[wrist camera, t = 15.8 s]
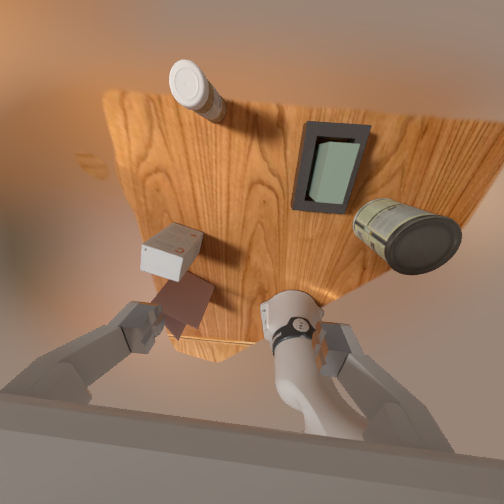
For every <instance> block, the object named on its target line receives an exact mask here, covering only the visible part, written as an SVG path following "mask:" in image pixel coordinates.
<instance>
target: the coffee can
mask: <svg viewBox="0 0 504 504" xmlns="http://www.w3.org/2000/svg"><path fill="white" fill-rule="evenodd" d="M353 231H354V233H355V235H356V236H357V237H358V238H359V239H361V240H362V241H363V242H364V243H365V244H366V245H368V246H369V247H370V248H371V249H372V250H373V251H374V252H376V253H377V254H378V255H379V256H380V257H381V258H382V259H384V260H385V261H386V262H387V263H388V264H389V266H390V267H391V268H392V269H393V270H395V271H397V272H399V273H401V274H405V275H419V274H424V273H427V272H430V271H433V270H435V269H437V268H439V267H440V266H442V265H443V264H445V263H446V262H447V261H448V260H449V259H451V258H452V257H453V255H454V254H455V253H456V251H457V250H458V248H459V246H460V243H461V239H462V232H461V229H460V227H459V225H458V224H457V223H456V222H455V221H454V220H452V219H450V218H448V217H445V216H440V215H436V214H433V213H430V212H427V211H424V210H421V209H418V208H415V207H412V206H409V205H406V204H403V203H400V202H397V201H394V200H392V199H388V198H379V199H375V200H372V201H370V202H368V203H367V204H365V205H364V206H363V207H362V208H361V209H360V210H359V211H358V212H357V214H356V215H355V217H354V220H353Z"/></svg>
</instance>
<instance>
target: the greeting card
mask: <svg viewBox="0 0 504 504" xmlns="http://www.w3.org/2000/svg"><path fill="white" fill-rule="evenodd" d="M214 288H215V286H214V285H212V284H210V283H208V282H206V281H204V280H203V279H201V278H199V277H197V276H195V275H193V274H191V273H190V272H188V271H186V272H185V274H184V275H183V277H182V278H181V280H180V281H179V282H176V281H173V280H170V279H169V281H168V282H167V283H166V284H165V286H164V287H163V288H162V289H161V291H160V292H159V293H158V294H157V295H156V297H155V298H154V299H153V300H152V302H151V303H154V304H160V305H162V308H163V310H162V312H161V313H162V314H163V315H164V317H165V324H164V325H165V326H166V327H167V328H168V329H169V331H170V332H171V333H172V334H173V335H174V336H175V338H176V339H177V340H179V338H180V336H181V334H182V332H183V330H184V328H185V326H186V324H188V325H190V326H192V327H194V328H196V329H198V327H199V325H200V322H201V320H202V317H203V315H204V312H205V310H206V308H207V305H208V303H209V300H210V298H211V295H212V293H213V291H214Z"/></svg>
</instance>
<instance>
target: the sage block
mask: <svg viewBox="0 0 504 504" xmlns="http://www.w3.org/2000/svg"><path fill="white" fill-rule="evenodd" d="M359 146H360V144H355V143H341V142H326V143H322V144H318V145H316V148H315V153H314V158H313V163H312V168H311V173H310V178H309V183H308V188H307V194H308V195H309V196H310V197H311V198H312V199H313V200H314V201H316V202H322V203H334V204H343V200H344V197H345V194H346V190H347V187H348V183H349V180H350V177H351V173H352V170H353V167H354V163H355V160H356V156H357V153H358V150H359Z"/></svg>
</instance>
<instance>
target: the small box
mask: <svg viewBox="0 0 504 504" xmlns="http://www.w3.org/2000/svg"><path fill="white" fill-rule="evenodd" d="M203 235H204V233H203V232H200V231H197V230H194V229H192V228H189V227H186V226H183V225H180V224H177V223H174V222H173V223H172V224H170V225H169V226H167V227H166V228H165V229H163V230H162V231H160V232H159V233H157V234H156V235H155V236H153V237H152V238H150V239H149V240H147V241H146V242H145V243H143V244H142V252H141V271H145V272H148V273H151V274H154V275H157V276H161V277H164V278H167V279H170V280H173V281H176V282H179V281H180V280H181V278H182V277H183V275H184V274H185V272H186V271H187V270H188V268H189V267H190V265H191V264H192V262H193V261H194V260H195V258H196V257H197V255H198V254H199V251H200V247H201V243H202V239H203Z"/></svg>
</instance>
